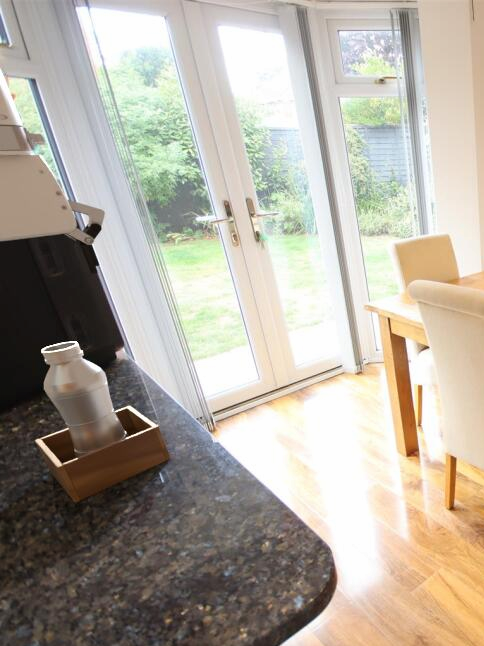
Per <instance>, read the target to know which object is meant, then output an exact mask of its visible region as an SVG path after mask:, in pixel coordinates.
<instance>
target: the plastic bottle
mask: <svg viewBox="0 0 484 646" xmlns="http://www.w3.org/2000/svg"><path fill="white" fill-rule="evenodd" d="M41 354H42V355H43V358H44V362H45V364H46V365H49V366H50V367H49V369H48V371H47V373H46V375H45V378H44V381H43V390H44V391H45V394H46V396H47V397H48V399H50V401H51V402H52V404H53V406H54V407H55V409H57V411H58V412H59V414H60V417H62V419H63V422H65V425H66V427H67V428H68V429H69V432H70V435H71V438H72V441H73V445H74V447H75V448H74V452H75V457H76V458H78V457H80V456H83V455H85V454H87V453H90V452H92V451H95V450H97V449H100V448H102V447H105V446H107V445H110V444H112V443H115V442H117V441H120V440H122V439H125V438H127V437H129V435H128V434H127V433H126V431H124V429H123V427H122V425H121V423H120V421H119V419H118V417H117V416H116V414H115V411H116V410H115V408H114V405H113V402H112V399H111V395H110V390H109V383H108V379H107V375H106V372H105V371H104V370H103V369H102V368H101V367H100V366H98V365H97V364H95V363H93V362H91V361H90V360H87V359H85V358H83V356H84V351H83V350H81V347H80V345H79V343H78V342H77V341H65V342H60V343H56V344H53V345H49V346H46V347H44V348H42V349H41Z"/></svg>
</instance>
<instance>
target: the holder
mask: <svg viewBox="0 0 484 646" xmlns="http://www.w3.org/2000/svg"><path fill="white" fill-rule="evenodd" d="M114 411H115V414H116V416H117V417H118V419H119V421H120V423H121V425H122V427H123V429H124V431H126V433H127V434H128V435H129V437H127V438H125V439H122V440H120V441H117V442H115V443H112V444H110V445H107V446H105V447H102V448H100V449H97V450H95V451H92V452H90V453H87V454H85V455H83V456H80V457H78V458H76V457H75V452H74V448H75V447H74V445H73V441H72V438H71V435H70V432H69V429H68V427H67V428H65V429H61V430H59V431H56V432H53V433H51V434H48V435H45V436H43V437H40V438H37V439H34V442H35V444H36V446H37V449H38V450H39V452H40V454H41V456H42V458H43V460H44V462H45V464H46V466H47V468H48V470H49V472H50V474H51V475H52V476H53V477H54V479H55V480H56V481H57V482H58V484H59V485H60V486H61V487H62V489H63V490H64V491H65V493H66V494H67V495H68V496H69V498H71V500H72V501H73V503H74V504H75V503H76V504H77V503H78V502H80V501H82V500H85V499H86V498H87V499H88V498H89V497H91V496H94V495H95V494H98V493H100V492H102V491H105V490H106V489H108V488H111V487H113V486H115V485H117V484H120V483H122V482H123V481H126V480H128V479H131V478H132V477H135V476H137V475H140V474H141V473H143V472H146V471H147V470H149V469H152V468H154V467H156V466H158V465H161V464H163V463H165V462H166V461H169V460H172V459H171V456H170V453H169V451H168V448H167V445H166V442H165V439H164V437H163V435H162V431H161V429H160V427H159V425H158V424H156V423H155V422H153V421H152V420H150V419H149V418H148V417H146V416H145V415H144V414H142V413H141V412H139V411H138V410H136V409H135V408H134V407H132V406H131V405H128V406H125V407H122V408H119V409H117V410H114Z"/></svg>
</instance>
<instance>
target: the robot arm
mask: <svg viewBox="0 0 484 646" xmlns="http://www.w3.org/2000/svg"><path fill="white" fill-rule="evenodd" d="M45 145H46V141H45V138H44V136H43V134H41V133H34V132H30V131H29V130H28V129H27V127H24V123H23V122H22V119H21V117H20V114H19V112H18V109H17V106H16V104H15V102H14V99H13V96H12V94H11V92H10V89H9V86H8V84H7V81H6V79H5V77H4V74H3V71H2V69H1V68H0V242H7V241H15V240H24V239H33V238H40V237H46V236H56V235H62V234H64V235H65V236H67V237H68V238H70V239H72V240H74V241H75V243H74V245H73V247H74V250H75V253H76V255H77V258H78V259H79V263H80V265H81V268H82V270H83V271H84V273H87V274H92V275H95V274H98V269H97V267H99V266H100V262H99V260H98V257H97V254H96V251H95V250H94V247H93V244H95V240H96V238H97V237H98V235H99V234H100V233H101V231H102V230H103V224H104V218H105V215H106V213H105V211H104V209H101V208H97V207H94V206H91V205H89V204H85V203H81V202H77V201H74V200H70V199H67V196H66V195H65V192H64V190H63V189H62V187H61V185H60V183H59V180H58V179H57V178H56V176H55V174H54V172H53V170H52V169H51V167H50V166H49V164H48V162H47V161H46V159H45V158H44V157H43V155H42V154H35V152H34V151H35V149H36V147H38V146H45ZM74 212H76V213H80V214H82V215H86V216H87V217H88V223H87V224H86V226H85V227H84V228H83V230H81V229H80V228H77V226H78V224H77V220H76V217H75V213H74ZM3 290H4V286H3V284H2V281H0V291H3Z"/></svg>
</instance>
